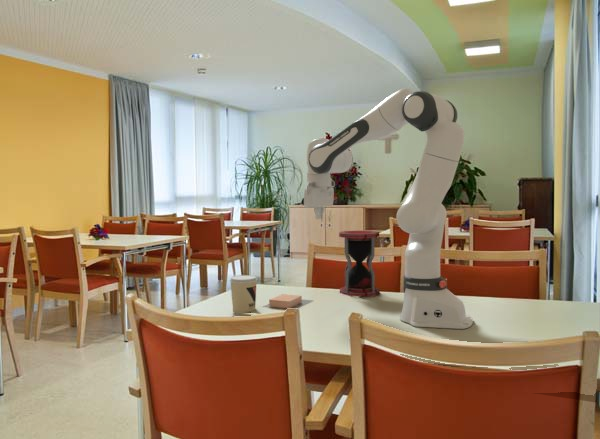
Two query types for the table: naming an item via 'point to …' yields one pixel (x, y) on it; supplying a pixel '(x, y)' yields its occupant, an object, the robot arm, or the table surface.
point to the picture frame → (285, 301)
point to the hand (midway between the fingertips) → (319, 219)
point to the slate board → (294, 306)
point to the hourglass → (359, 263)
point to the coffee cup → (243, 293)
